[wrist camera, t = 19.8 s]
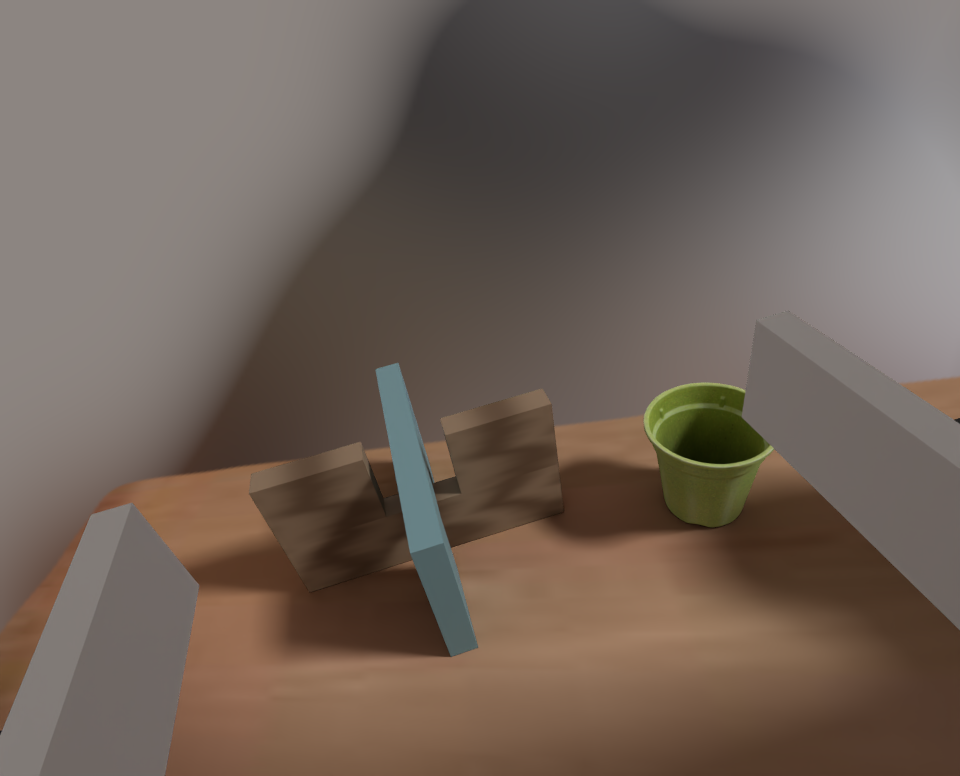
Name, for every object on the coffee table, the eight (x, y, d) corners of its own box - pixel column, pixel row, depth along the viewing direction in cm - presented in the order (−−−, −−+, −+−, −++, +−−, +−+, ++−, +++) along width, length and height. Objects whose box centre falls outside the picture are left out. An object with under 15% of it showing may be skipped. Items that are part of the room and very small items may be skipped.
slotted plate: (428, 461, 56) (398, 362, 49) (478, 647, 40) (443, 542, 33) (409, 466, 56) (375, 369, 48) (450, 656, 40) (410, 553, 32)
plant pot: (620, 486, 49) (618, 411, 44) (707, 443, 51) (715, 367, 46) (695, 565, 42) (703, 487, 37) (792, 512, 44) (813, 431, 39)
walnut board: (555, 494, 50) (542, 388, 42) (563, 511, 48) (551, 403, 41) (309, 572, 47) (251, 473, 40) (309, 592, 46) (248, 493, 39)
